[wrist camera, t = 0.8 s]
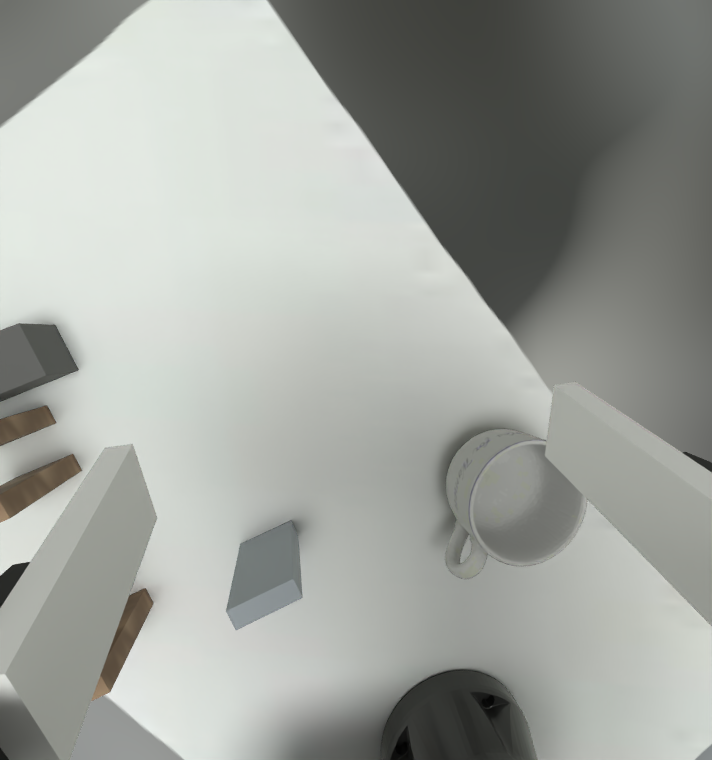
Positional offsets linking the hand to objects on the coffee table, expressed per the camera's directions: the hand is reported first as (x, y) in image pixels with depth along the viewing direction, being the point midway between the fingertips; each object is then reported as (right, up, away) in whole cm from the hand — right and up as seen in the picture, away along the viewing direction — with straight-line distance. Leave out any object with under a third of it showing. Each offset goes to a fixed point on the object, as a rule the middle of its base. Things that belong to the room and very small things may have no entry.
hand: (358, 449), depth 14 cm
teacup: (+12, -8, +30) cm, 33 cm away
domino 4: (-8, -13, +27) cm, 31 cm away
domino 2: (-26, -6, +23) cm, 35 cm away
